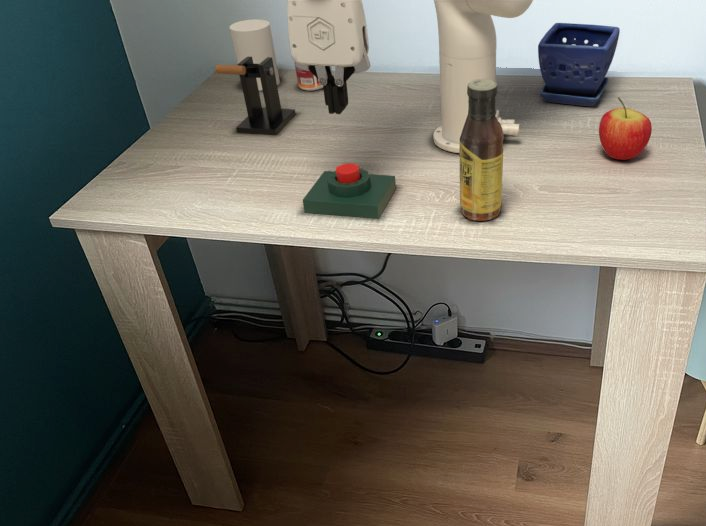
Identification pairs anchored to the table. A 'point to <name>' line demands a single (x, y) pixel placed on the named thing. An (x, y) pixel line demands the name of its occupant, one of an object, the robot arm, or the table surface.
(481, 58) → the robot arm
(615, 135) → the apple
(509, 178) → the table surface
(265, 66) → the bracket
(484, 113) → the sauce bottle
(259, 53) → the cup
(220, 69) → the lever
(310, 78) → the pill bottle
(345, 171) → the button
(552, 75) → the flower pot
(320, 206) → the control block
